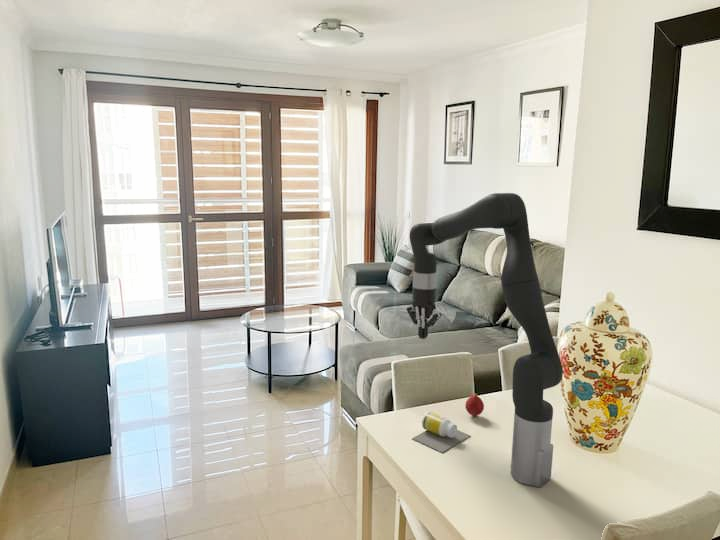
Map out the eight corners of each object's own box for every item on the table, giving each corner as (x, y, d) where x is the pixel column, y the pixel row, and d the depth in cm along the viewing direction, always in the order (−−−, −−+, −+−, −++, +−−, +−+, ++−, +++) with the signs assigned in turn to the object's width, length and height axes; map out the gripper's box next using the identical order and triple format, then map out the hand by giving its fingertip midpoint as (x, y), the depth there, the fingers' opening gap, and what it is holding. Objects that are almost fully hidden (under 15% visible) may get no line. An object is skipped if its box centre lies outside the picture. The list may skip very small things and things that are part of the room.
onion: (461, 414, 171) (462, 391, 170) (475, 411, 174) (476, 388, 172) (472, 422, 166) (473, 398, 165) (486, 418, 169) (488, 395, 167)
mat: (470, 436, 157) (470, 435, 157) (442, 453, 147) (442, 452, 147) (440, 423, 165) (440, 423, 165) (412, 439, 155) (412, 438, 155)
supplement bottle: (423, 432, 160) (449, 444, 154) (419, 419, 158) (446, 430, 151) (433, 421, 163) (459, 431, 157) (430, 407, 161) (456, 418, 154)
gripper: (448, 287, 165) (446, 340, 168) (415, 281, 174) (414, 331, 177) (434, 290, 159) (432, 345, 162) (401, 284, 169) (399, 336, 172)
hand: (422, 338), depth 170 cm, fingers closed
